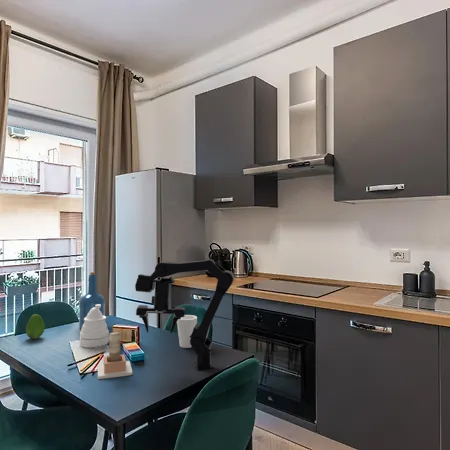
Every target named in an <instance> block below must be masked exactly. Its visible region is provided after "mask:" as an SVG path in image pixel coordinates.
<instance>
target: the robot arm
mask: <svg viewBox="0 0 450 450" xmlns="http://www.w3.org/2000/svg"><path fill="white" fill-rule="evenodd" d="M198 271H199V272H201V271H208V272H209V273H210V274H211V275H212V276H213V277H214V278H215V279H216V280H217V282H216V286H215V291H214V294H213V296H212V298H211V300H210V303H209V305H208V307H207V309H206V312H205V314H204V316H203V318H202V321H201V322H200V324H198V323H196V325H195V327H194V329H193V332H192V334H191V335H190V338H191V339H190V344H191V346H192V347H191V348H193V349H194V352H195V354H196V356H195V358H196V359H195V362H193V365H194V367H195V369H196V370H197V371H203V370H211V369H214V368H215V367H214V365H213V364H212V351H211V348H212V346H213V341H211V340H210V338H209V337H208V336H209V331H210V328H211V324H212V322H213V320H214V318H215V316H216V314H217V312H218V309H219V306H220V305H221V303H222V300H223V297H224V296H225V295H226V293H227V292H228V290H229V289H230V288H231V286H232V285H233V283H234V281H235V274H234V272H232V271H231V270H226V269H225V268H224V267H223V266H221V265H219V264H218V263H217V262H215V261H214V260H213V259H211V258H209V259H206V260H196V261H194V260H193V261H185V262H175V261H161V262H159V263H157V264H156V265H155V267H154V271H153V272H152V273H151V274H149V275H147V274H142V273H140V274H138V275H137V279H136V280H135V281H136V282H135V285H134V286H135V287H134V289H135V292H139V293H151V292H153V291H154V296H151V305H153V307H149V306H148V305H147V304H146V305H143V304H139V305H138V306H137V307H136V309H135V315H136V316H138V317H139V319H140V318H141V319H142V321H143V324H144V327H145V330H146V333H149V331H150V330H149V329H150V328H149V325H150V324H149V314H163V315H164V314H170V315H173V317H172V322H171V326H170V328H171V329H170V334H172V333H173V331H174V329H175V326H176V324H177V321H178V319H181V317H184V315H186V314H185V312H186V311H185V309H186V308H185V307H184V306H175V307H174V308H169V307H170V290H171V289H170V287H171V284H172V285H173V284H174V283H176V279H174V277H173V276H172V275H175V274H178V273H179V274H180V273H191V272H198ZM158 278H160V279H158Z"/></svg>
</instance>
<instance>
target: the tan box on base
mask: <svg viewBox="0 0 450 450" xmlns="http://www.w3.org/2000/svg"><path fill="white" fill-rule="evenodd" d="M127 376H133V368H132V366H131V362H130V360H126V357H125V354H120V361H116V362H109V355H108V356H107V355H106V356H103V363H99V364H97V380H105V379H110V378H118V377H127Z"/></svg>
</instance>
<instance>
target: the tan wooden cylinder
mask: <svg viewBox="0 0 450 450" xmlns="http://www.w3.org/2000/svg"><path fill="white" fill-rule="evenodd" d="M108 343H109V345H108V346H109V347H108V348H109V349H108V350H109V351H108V356H109V362H116V361H120V355H121V332H117V331H116V332H109V342H108Z"/></svg>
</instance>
